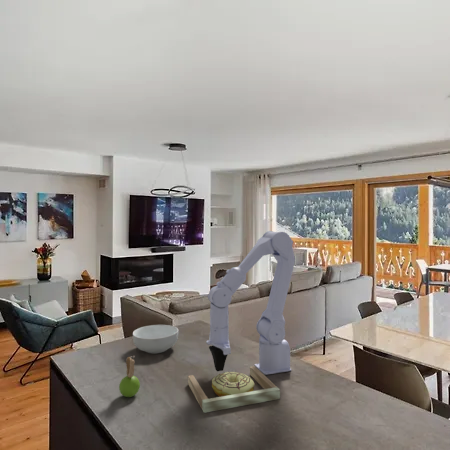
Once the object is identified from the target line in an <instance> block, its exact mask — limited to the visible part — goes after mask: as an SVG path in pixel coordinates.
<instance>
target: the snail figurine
mask: <svg viewBox="0 0 450 450" xmlns="http://www.w3.org/2000/svg"><path fill="white" fill-rule="evenodd" d="M135 357H136V355H133V356H128V357H126V359H125V364H126V376H124V377H123V378H122V379H121V380H120V382H119V387H118V389H119V393H120V394H121V395H122V396H123V397H125V398H131V397H132V398H133V397H134V396H136V395H137V394H138V392H139V390H140V388H141V383H140V380H139V378H138V377H137V376H135V375H134V374H135V363H136V362H135Z"/></svg>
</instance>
